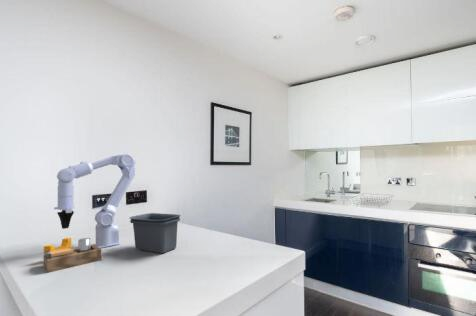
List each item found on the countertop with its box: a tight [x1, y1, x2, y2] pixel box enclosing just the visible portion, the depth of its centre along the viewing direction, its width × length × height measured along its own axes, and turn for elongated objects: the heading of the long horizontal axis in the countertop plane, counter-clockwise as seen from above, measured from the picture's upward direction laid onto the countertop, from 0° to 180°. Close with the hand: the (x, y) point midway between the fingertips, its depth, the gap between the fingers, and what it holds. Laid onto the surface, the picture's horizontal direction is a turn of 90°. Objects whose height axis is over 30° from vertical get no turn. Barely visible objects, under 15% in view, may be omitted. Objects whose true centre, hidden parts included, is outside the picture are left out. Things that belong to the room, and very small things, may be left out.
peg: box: [77, 237, 91, 253], centre depth 102 cm, size 4×4×8 cm
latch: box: [45, 247, 74, 257], centre depth 97 cm, size 8×4×1 cm, turn 133°
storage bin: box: [129, 212, 181, 254], centre depth 115 cm, size 21×16×14 cm
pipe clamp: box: [43, 237, 72, 255], centre depth 106 cm, size 12×4×6 cm, turn 178°
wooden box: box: [43, 244, 102, 273], centre depth 100 cm, size 17×10×6 cm, turn 133°
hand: (65, 228), depth 113 cm, fingers closed
